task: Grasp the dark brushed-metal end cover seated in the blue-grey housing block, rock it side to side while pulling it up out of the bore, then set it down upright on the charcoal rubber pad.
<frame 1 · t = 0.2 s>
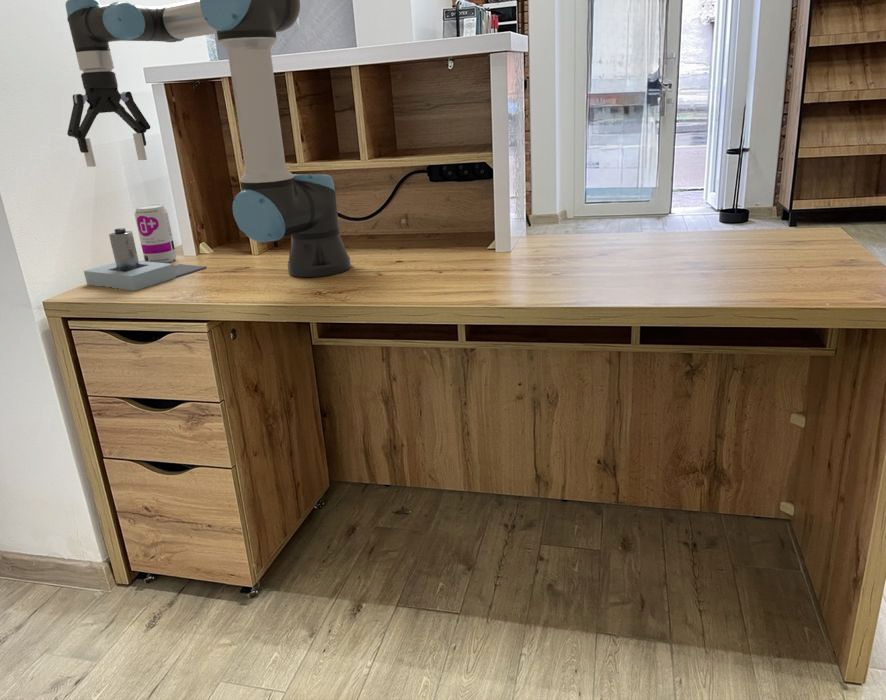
hand: (117, 163, 174), 27 cm above the table, fingers open, 13 cm apart
housing: (131, 281, 173), on the table
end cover: (125, 255, 171), in the housing
pad: (178, 271, 180), on the table
supplement can: (161, 262, 193), on the table
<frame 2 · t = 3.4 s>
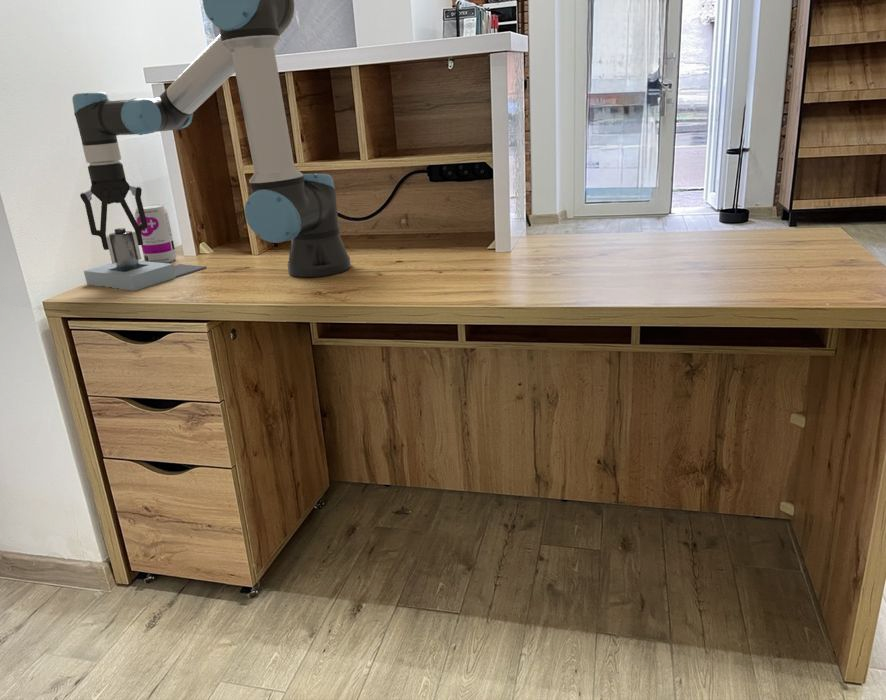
hand: (126, 260, 171), 5 cm above the table, fingers closed on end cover, 5 cm apart
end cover: (125, 255, 171), in the housing, touching gripper
everything else where it was.
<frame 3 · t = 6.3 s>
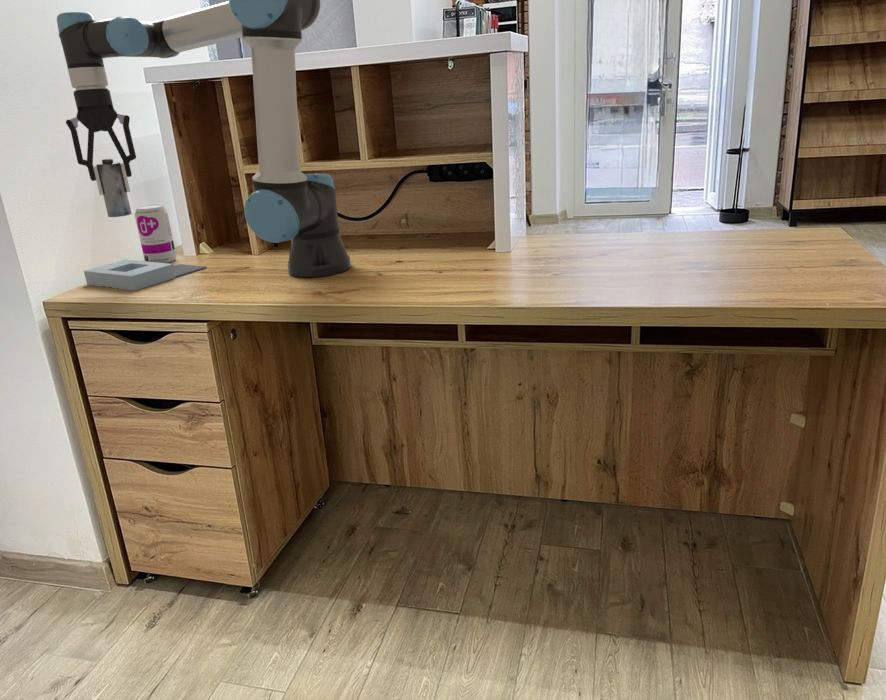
hand: (114, 192, 166), 22 cm above the table, fingers closed on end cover, 5 cm apart
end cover: (113, 187, 166), point 23 cm above the table, touching gripper
everything else where it was.
when the fingers open (7 cm above the table, at t = 9.5 s): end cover drops 1 cm, resting on pad.
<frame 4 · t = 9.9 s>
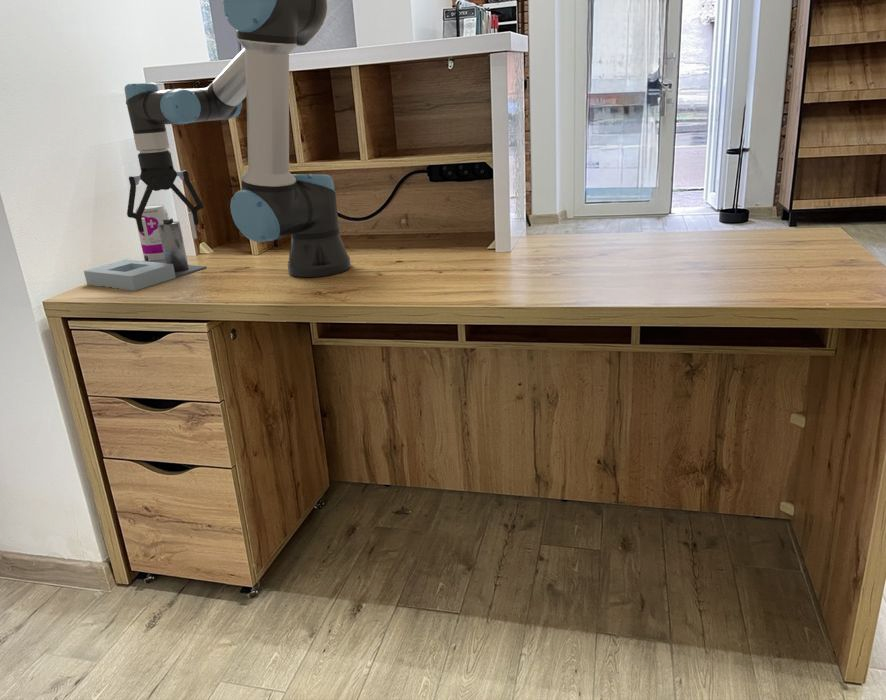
hand: (171, 241, 177), 8 cm above the table, fingers open, 10 cm apart
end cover: (173, 244, 178), on the pad
everything else where it was.
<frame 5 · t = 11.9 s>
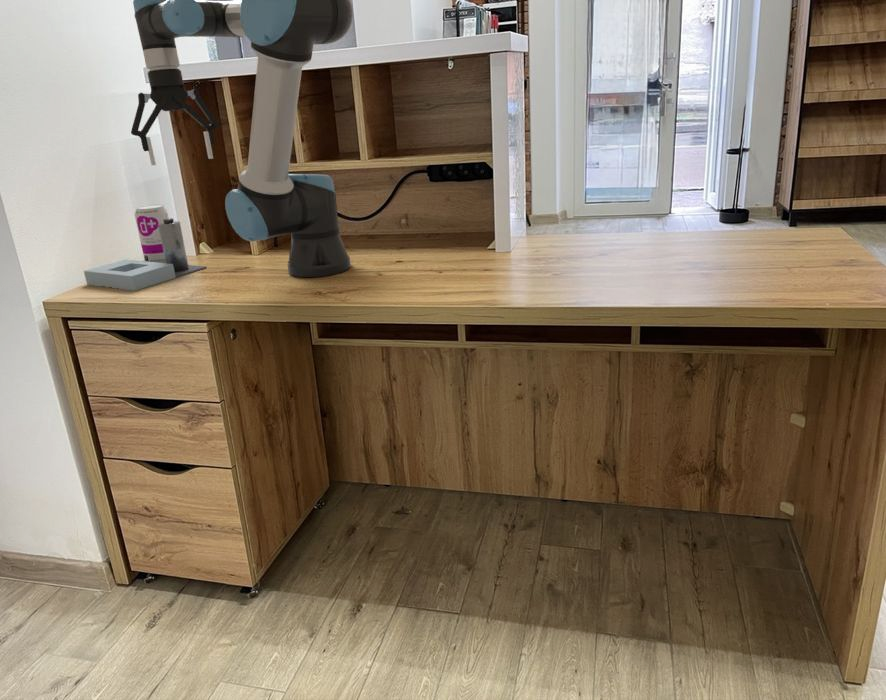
hand: (182, 161, 172), 27 cm above the table, fingers open, 13 cm apart
nothing on the table moved.
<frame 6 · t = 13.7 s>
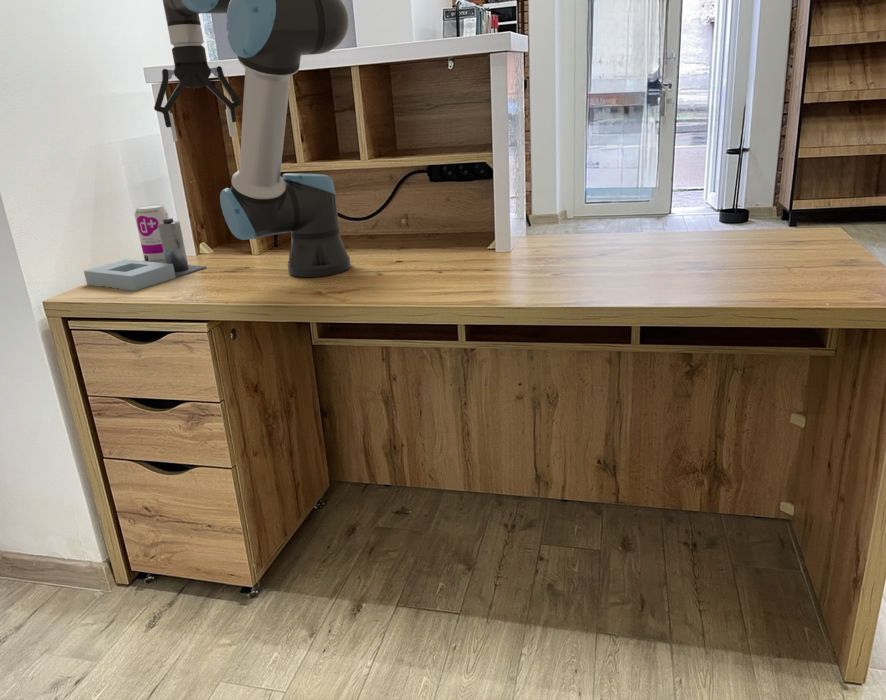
hand: (204, 139, 174), 32 cm above the table, fingers open, 13 cm apart
nothing on the table moved.
at the end: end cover inside the target area on the pad (0.1 cm from its centre), point 6.9 cm above the pad's base; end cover tilted 1°; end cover touching pad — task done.
